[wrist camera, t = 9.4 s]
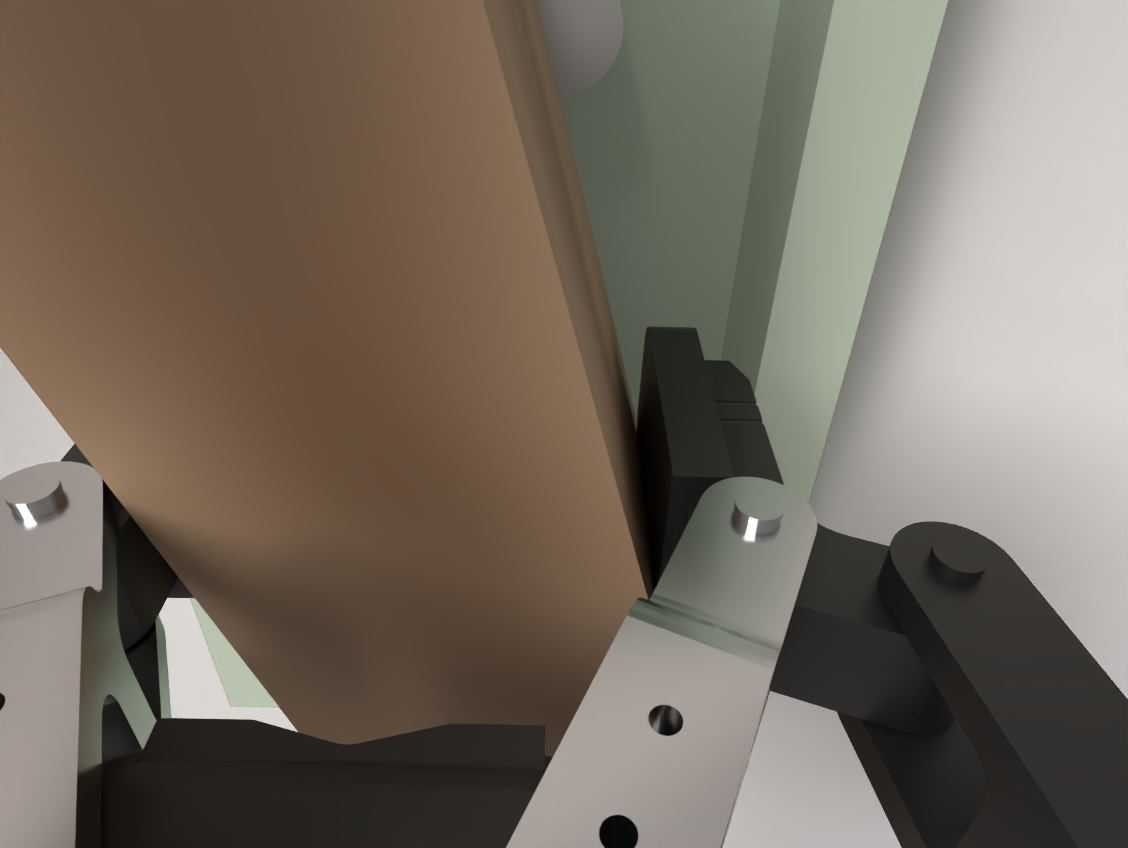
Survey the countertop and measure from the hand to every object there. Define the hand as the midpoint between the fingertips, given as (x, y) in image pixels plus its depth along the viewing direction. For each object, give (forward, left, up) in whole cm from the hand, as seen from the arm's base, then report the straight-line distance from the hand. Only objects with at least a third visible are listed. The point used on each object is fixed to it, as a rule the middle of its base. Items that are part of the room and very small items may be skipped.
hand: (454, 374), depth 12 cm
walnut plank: (0, 0, -1) cm, 1 cm away
